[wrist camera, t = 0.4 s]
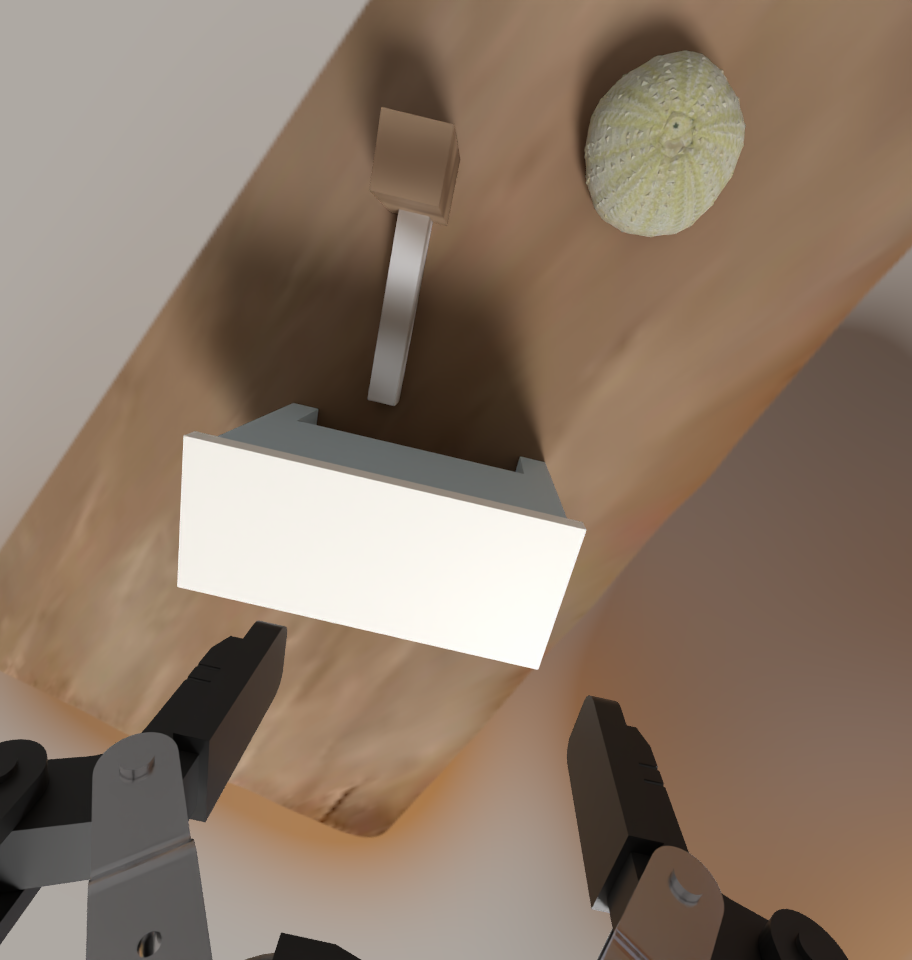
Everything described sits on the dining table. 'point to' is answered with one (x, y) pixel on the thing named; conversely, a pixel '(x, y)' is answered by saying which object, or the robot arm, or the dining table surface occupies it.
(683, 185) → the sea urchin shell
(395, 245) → the wooden cube mallet
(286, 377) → the dining table surface
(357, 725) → the dining table surface
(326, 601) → the bench
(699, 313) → the dining table surface
